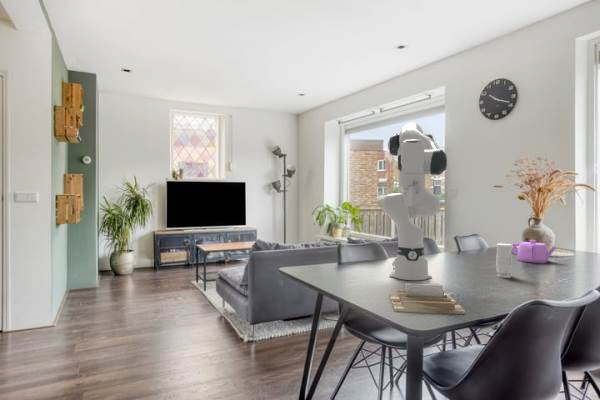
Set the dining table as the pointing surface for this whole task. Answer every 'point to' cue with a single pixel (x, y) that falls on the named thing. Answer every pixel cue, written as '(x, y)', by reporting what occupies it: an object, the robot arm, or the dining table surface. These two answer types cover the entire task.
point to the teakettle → (532, 251)
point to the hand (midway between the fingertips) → (412, 218)
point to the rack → (425, 304)
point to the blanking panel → (424, 290)
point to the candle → (504, 260)
